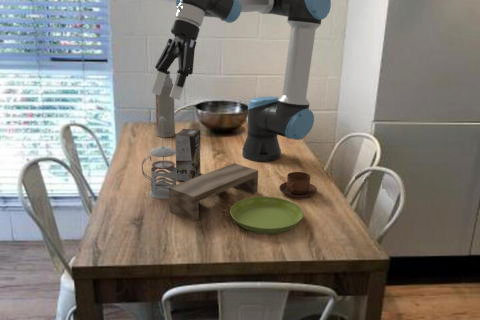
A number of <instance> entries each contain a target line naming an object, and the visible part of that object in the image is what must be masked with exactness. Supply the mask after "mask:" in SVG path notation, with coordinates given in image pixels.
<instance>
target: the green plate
mask: <svg viewBox="0 0 480 320" xmlns="http://www.w3.org/2000/svg"><path fill="white" fill-rule="evenodd" d="M229 213H230V215H231V217H232V219H233V220H234V221H235V223H236V224H237V225H239V226H240V227H242V228H243V229H244V230H247V231H249V232H251V233H257V234H263V235H273V234H274V235H275V234H276V235H277V234H281V233H285V232H288V231H289V230H292V229H293V228H295V226H297V225H298V224H299V223H300V222H301V221H302V219H303V217H304V211H303V209H302V208H301V206H299V205H298V204H296V203H295V202H293V201H291V200H289V199H284V198H280V197H276V196H275V197H273V196H253V197H247V198H243V199H241V200H238V201H236V202H235V203H234V204H233V205H231V207H230V209H229Z"/></svg>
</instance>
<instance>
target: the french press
mask: <svg viewBox="0 0 480 320" xmlns="http://www.w3.org/2000/svg"><path fill="white" fill-rule="evenodd" d="M159 121H162V137H161V138H162V141H161V142H162V143H161V145H162V146H161V145H160V146H157V147H155V148H152V149H151V150H150V152H149V153H150V155H148V156H146V157H145V158H144V159H143V160H142V163H141V171H142V172H141V173H142V175H143V177H145V178H146V179H148V180H150V186H151V187H150V191H149V192H148V195H149V197H150V198H153V199H156V200H157V199H159V200H167V199H169V187H171V186H174V185H177V180H176V162H174V161H172V160H171V161H170V160H165V159H164V158H168V157H173V156H174V155H175V156H176V149H174V148H172V147H170V146H165V145H164V137H163V121H165V117H160V118H159ZM152 156H153V157H155V158H162V160H157V161H154V162H152ZM148 159H149V161H150V162H152V164H151V166H152V167H151V169H150V170H151V171H150V172H151V174H150V175H151V177H150V176H149V175H147V174H146V173H145V171H144V163H146V161H147V160H148Z"/></svg>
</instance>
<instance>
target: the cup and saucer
mask: <svg viewBox="0 0 480 320" xmlns="http://www.w3.org/2000/svg"><path fill="white" fill-rule="evenodd" d="M279 190H280V192H281V193H283V194H284V195H285V196H287V197H291V198H295V199H297V198H300V199H301V198H303V199H305V198H309V197H311V196H314V195H315V194H316V193H317V191H318V189H317V187H316V186H315V185H314V184H311V174H309V173H308V172H304V171H293V172H289V173H287V177H286V181H285V182H283V183H281V184H280V185H279Z"/></svg>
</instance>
